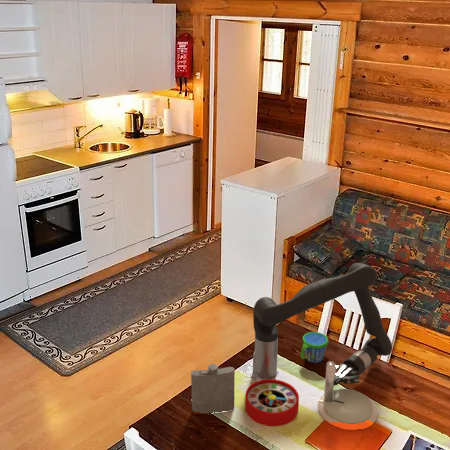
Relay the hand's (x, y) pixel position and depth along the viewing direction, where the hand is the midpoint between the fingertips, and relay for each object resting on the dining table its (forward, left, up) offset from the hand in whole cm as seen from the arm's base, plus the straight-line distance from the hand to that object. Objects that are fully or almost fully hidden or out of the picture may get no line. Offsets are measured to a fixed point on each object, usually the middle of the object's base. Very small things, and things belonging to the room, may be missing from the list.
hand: (332, 383), depth 215 cm
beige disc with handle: (+7, -2, -8) cm, 10 cm away
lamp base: (+7, -2, -9) cm, 11 cm away
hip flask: (-39, -22, -9) cm, 46 cm away
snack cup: (-13, +25, -9) cm, 30 cm away
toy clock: (-20, -12, -9) cm, 25 cm away
